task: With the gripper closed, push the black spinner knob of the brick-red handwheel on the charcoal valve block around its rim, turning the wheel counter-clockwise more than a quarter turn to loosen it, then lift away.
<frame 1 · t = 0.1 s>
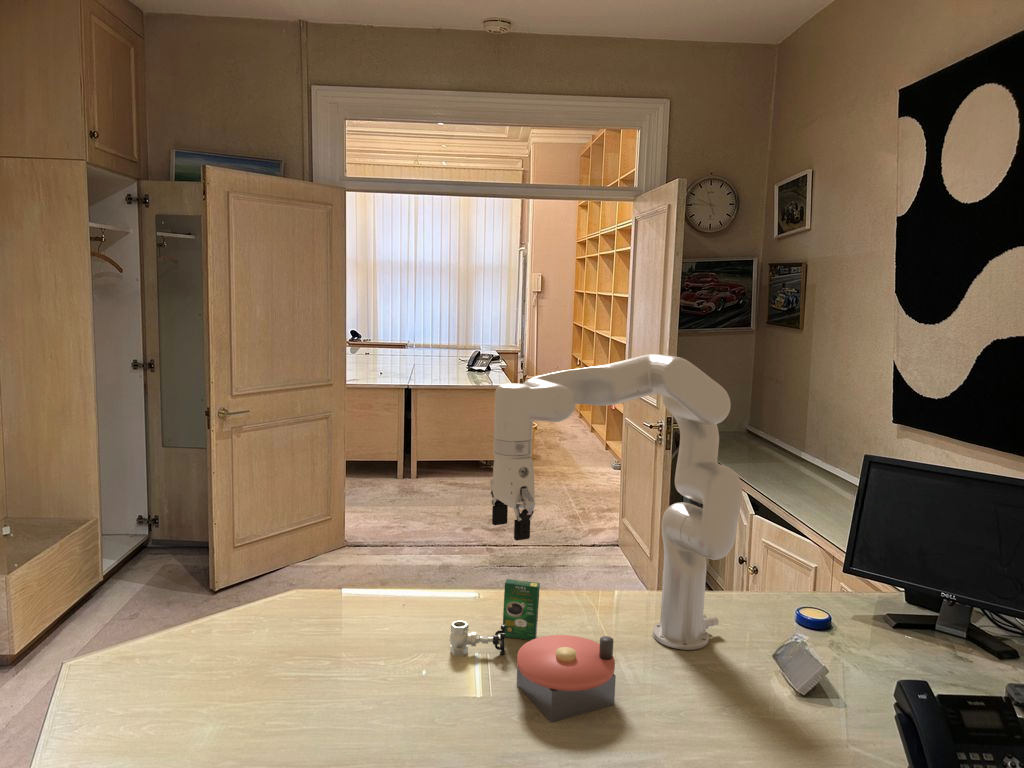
hand: (510, 531, 146), 31 cm above the table, tool pointing down, fingers open, 9 cm apart
valve block: (564, 694, 145), on the table
coffee box: (520, 637, 168), on the table
handwheel: (566, 652, 143), point 9 cm above the table, hinge at 0.0°
valve: (476, 654, 160), on the table
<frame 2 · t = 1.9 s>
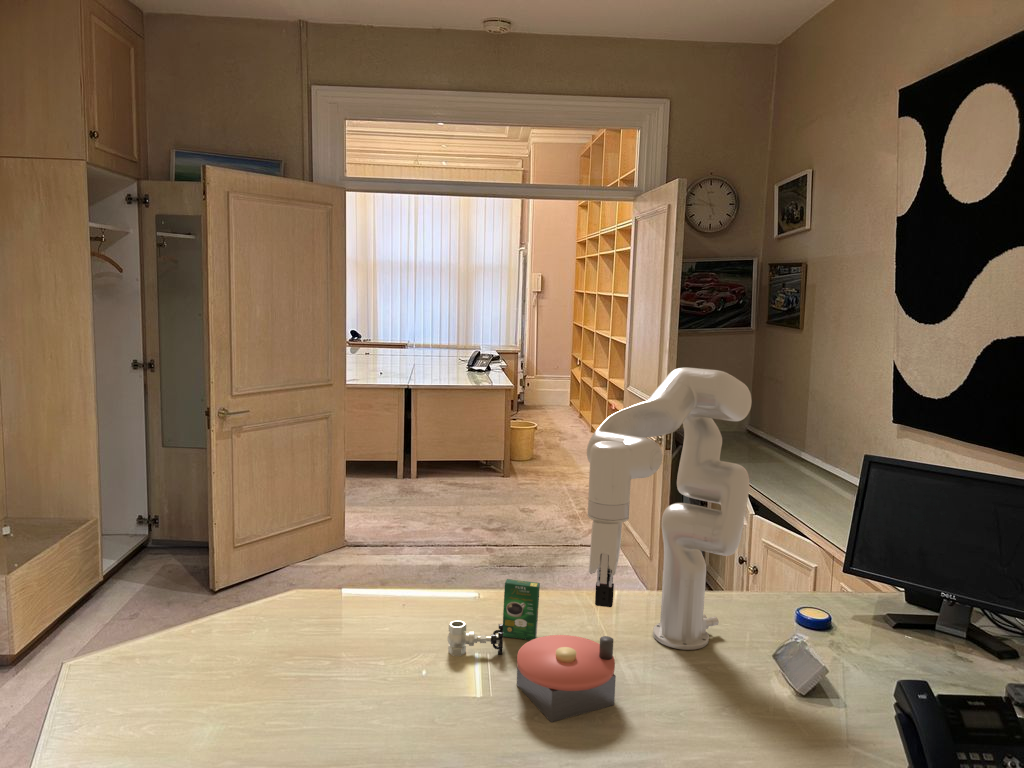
hand: (603, 604, 137), 21 cm above the table, tool pointing down, fingers closed
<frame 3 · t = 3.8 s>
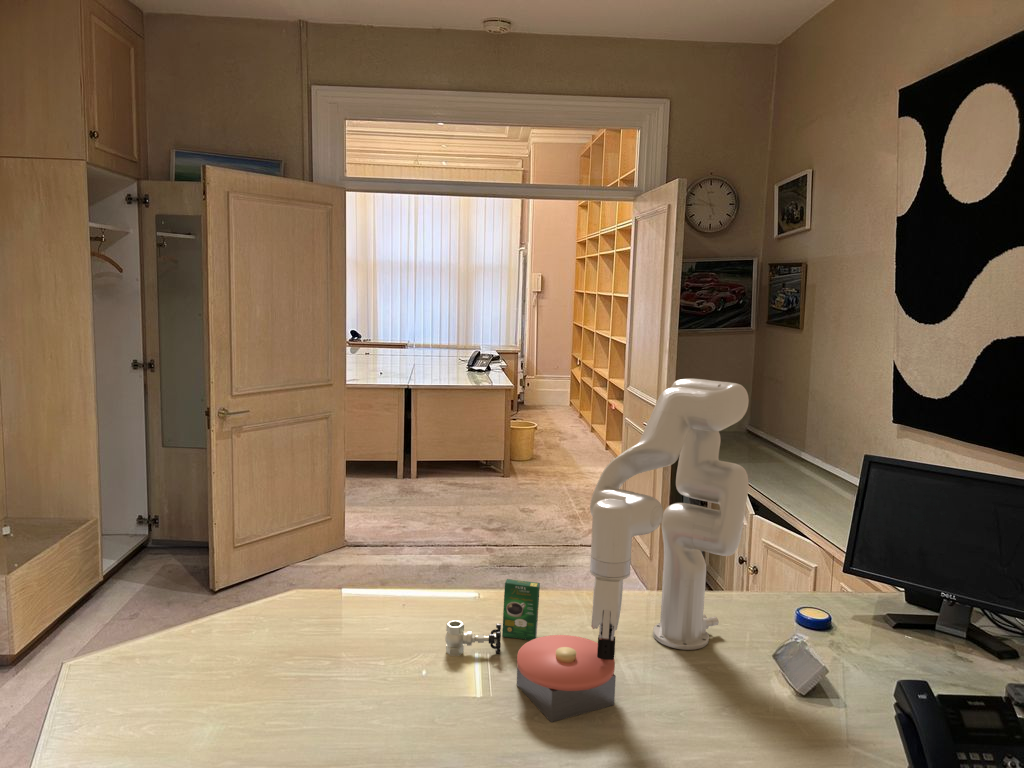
hand: (605, 656, 141), 9 cm above the table, tool pointing down, fingers closed
handwheel: (566, 652, 143), point 9 cm above the table, hinge at 0.7°, touching gripper
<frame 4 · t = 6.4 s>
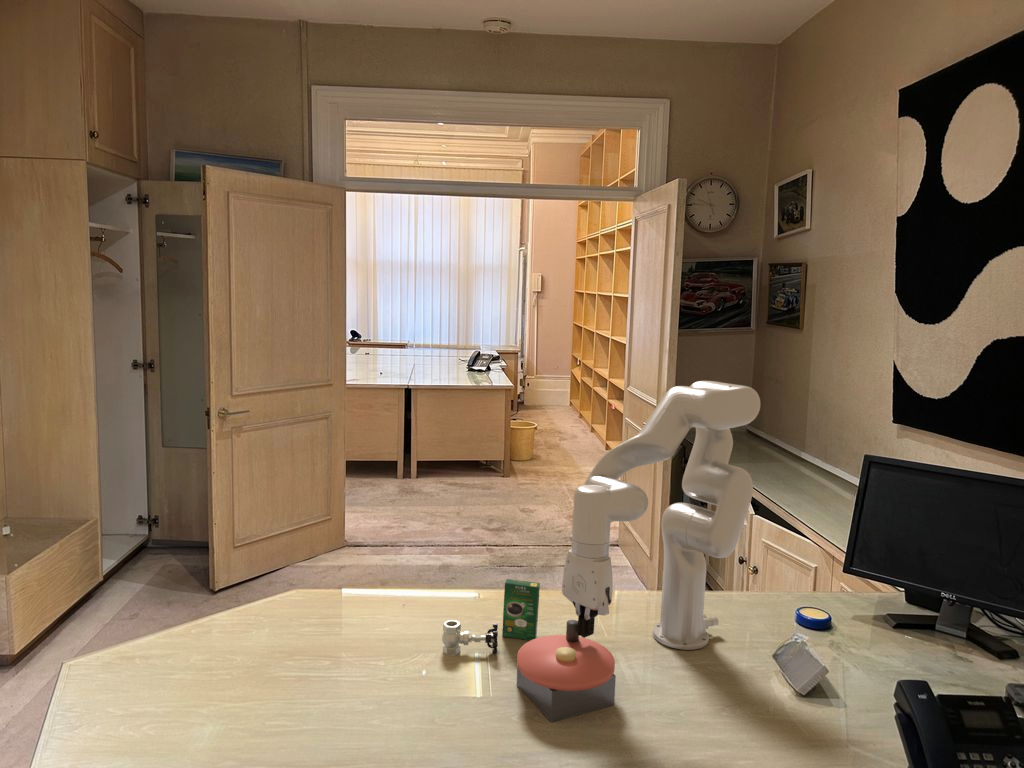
hand: (585, 634, 149), 10 cm above the table, tool pointing down, fingers closed
handwheel: (566, 652, 143), point 9 cm above the table, hinge at 69.8°, touching gripper
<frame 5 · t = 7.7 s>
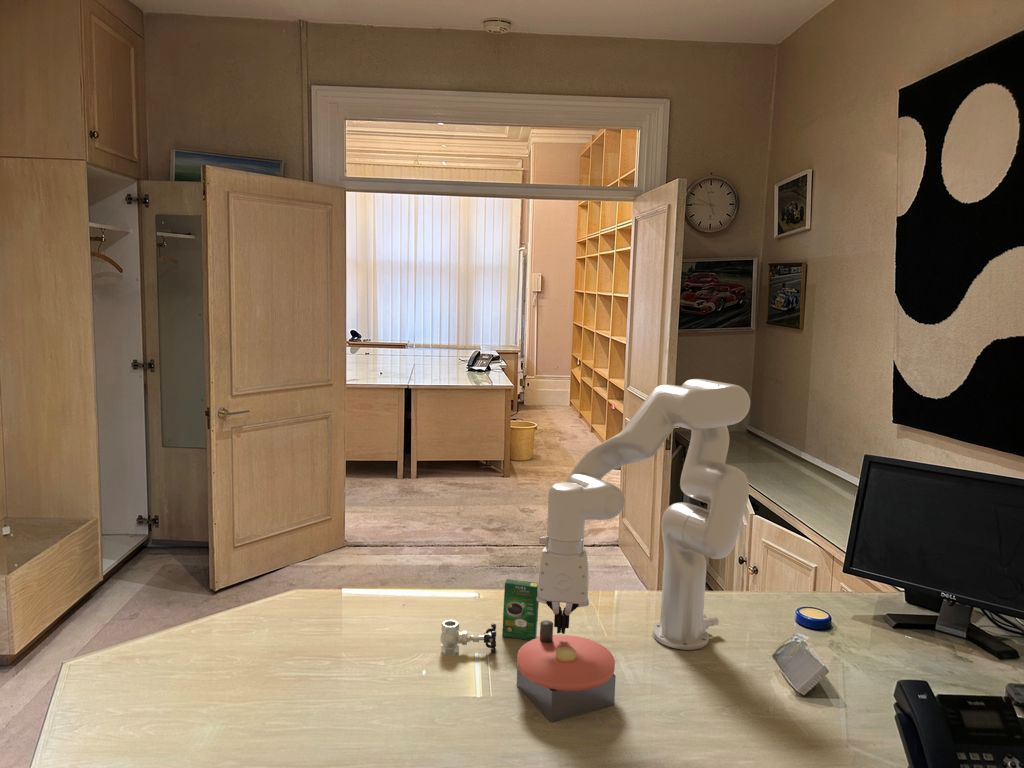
hand: (561, 630, 151), 10 cm above the table, tool pointing down, fingers closed
handwheel: (566, 652, 143), point 9 cm above the table, hinge at 109.7°, touching gripper
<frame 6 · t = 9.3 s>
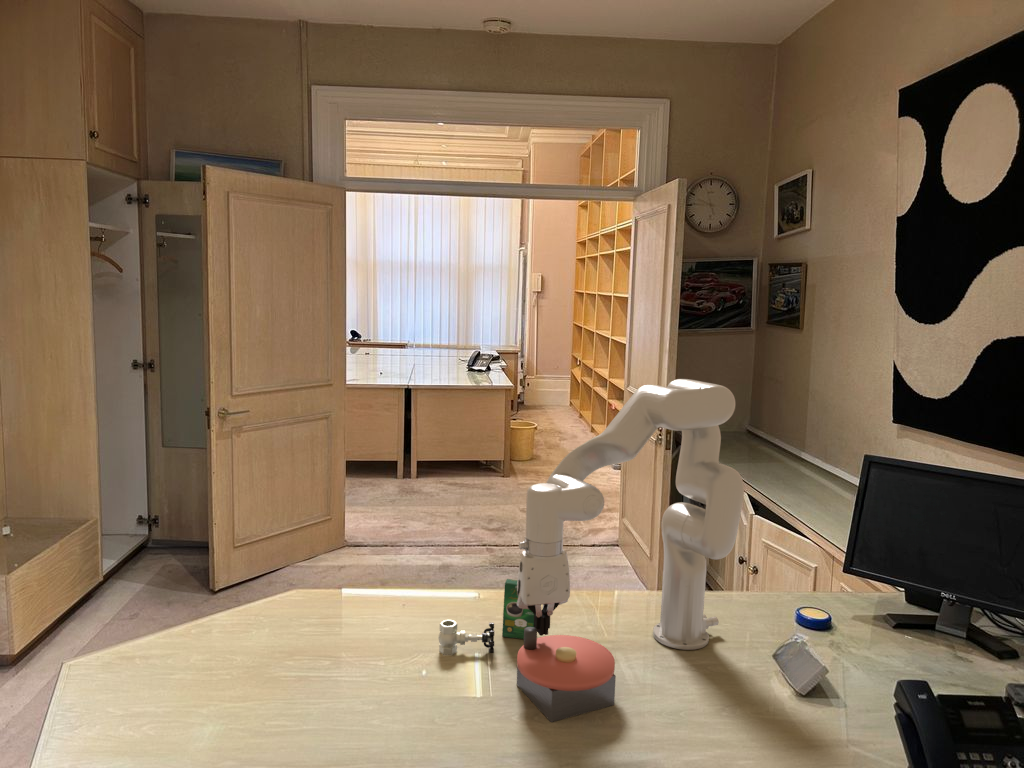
hand: (541, 632, 150), 10 cm above the table, tool pointing down, fingers closed
handwheel: (566, 652, 143), point 9 cm above the table, hinge at 143.1°
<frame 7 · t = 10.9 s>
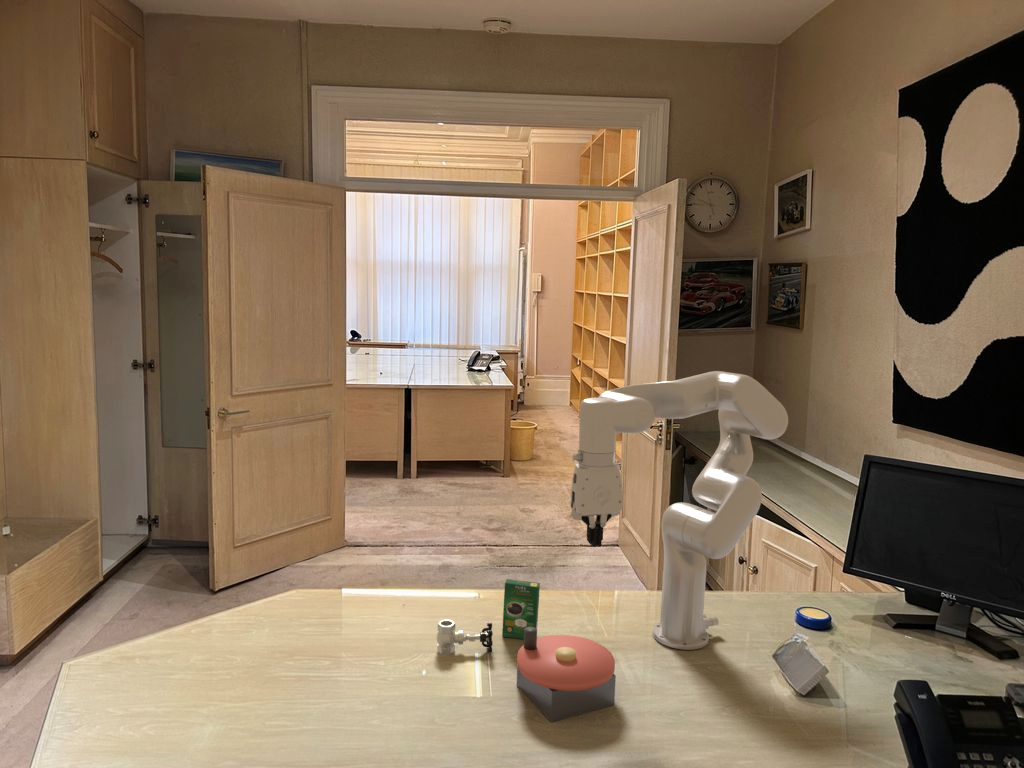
hand: (594, 544, 153), 27 cm above the table, tool pointing down, fingers closed
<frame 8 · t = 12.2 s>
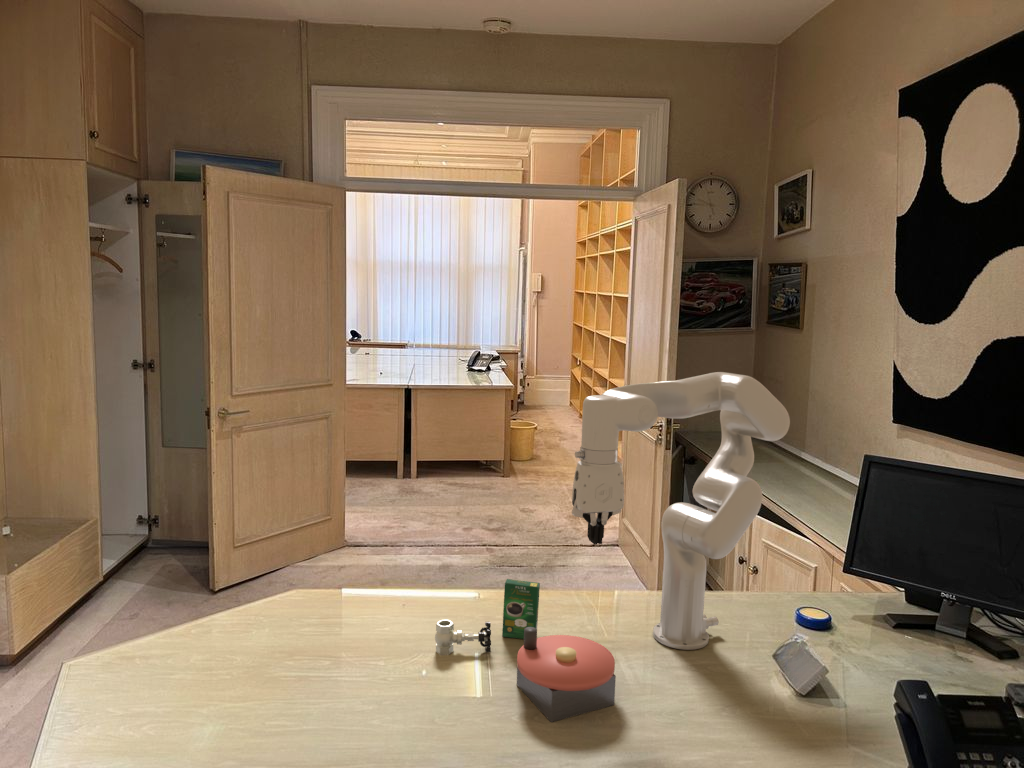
hand: (595, 541, 153), 27 cm above the table, tool pointing down, fingers closed
at the end: handwheel at +143° (first picture: +0°); valve moved 3.4 cm from its start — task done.
